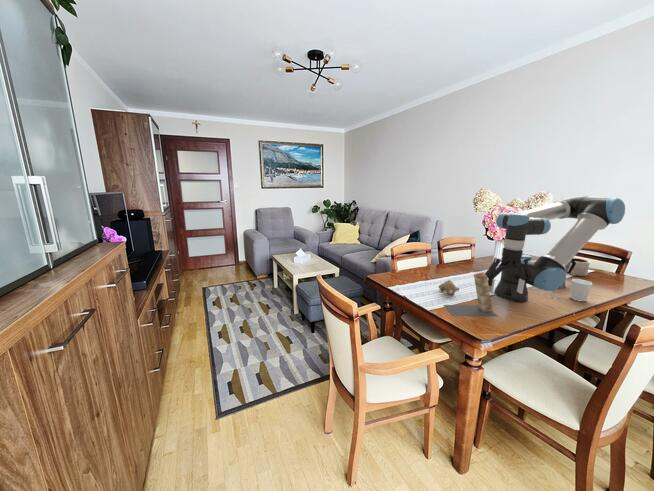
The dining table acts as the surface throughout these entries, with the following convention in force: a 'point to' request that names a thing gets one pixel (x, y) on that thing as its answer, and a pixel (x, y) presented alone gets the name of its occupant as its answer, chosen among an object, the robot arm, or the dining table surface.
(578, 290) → the white cup
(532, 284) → the robot arm
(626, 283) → the dining table surface
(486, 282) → the wooden block
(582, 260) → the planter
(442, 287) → the turtle figurine
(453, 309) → the rubber mat
